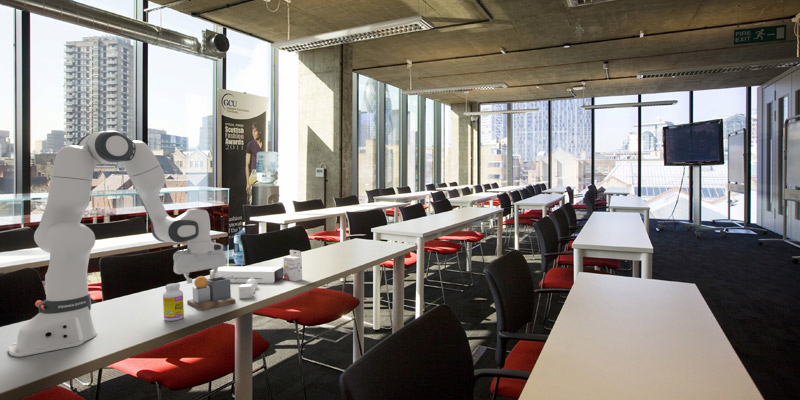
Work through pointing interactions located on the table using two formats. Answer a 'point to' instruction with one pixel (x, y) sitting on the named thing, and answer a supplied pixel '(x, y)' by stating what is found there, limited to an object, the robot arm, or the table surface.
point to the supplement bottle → (173, 302)
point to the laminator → (250, 274)
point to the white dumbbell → (248, 288)
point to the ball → (200, 282)
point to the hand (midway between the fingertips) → (201, 280)
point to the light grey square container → (201, 295)
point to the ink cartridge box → (293, 266)
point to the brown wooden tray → (211, 303)
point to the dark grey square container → (219, 288)
